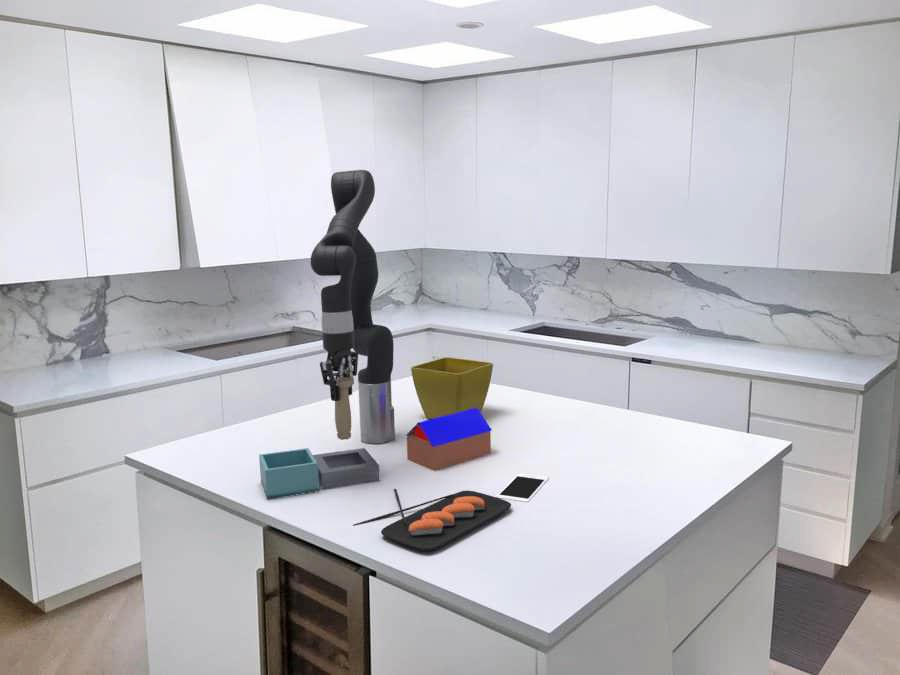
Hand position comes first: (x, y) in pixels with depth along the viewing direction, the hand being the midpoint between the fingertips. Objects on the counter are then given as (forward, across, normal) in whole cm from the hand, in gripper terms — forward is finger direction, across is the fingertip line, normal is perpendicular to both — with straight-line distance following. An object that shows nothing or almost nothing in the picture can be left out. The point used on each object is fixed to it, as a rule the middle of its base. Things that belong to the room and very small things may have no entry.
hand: (341, 397), depth 185 cm
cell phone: (+21, +8, -44) cm, 49 cm away
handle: (+11, 0, 0) cm, 11 cm away
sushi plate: (+21, -14, -28) cm, 38 cm away
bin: (+20, -12, +9) cm, 25 cm away
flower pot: (+21, +56, -4) cm, 60 cm away
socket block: (+20, 0, 0) cm, 20 cm away
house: (+21, +22, -18) cm, 35 cm away
